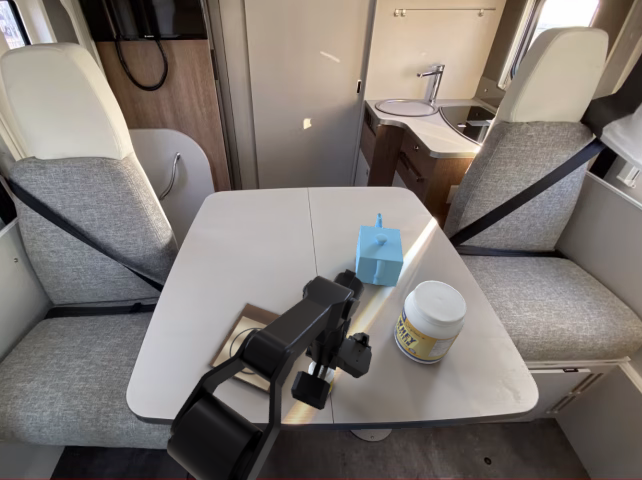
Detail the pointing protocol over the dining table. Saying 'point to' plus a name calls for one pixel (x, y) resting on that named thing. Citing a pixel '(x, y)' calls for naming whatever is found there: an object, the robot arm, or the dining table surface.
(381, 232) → the teapot
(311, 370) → the supplement bottle
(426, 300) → the supplement tub
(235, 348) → the drawing board
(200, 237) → the dining table surface
